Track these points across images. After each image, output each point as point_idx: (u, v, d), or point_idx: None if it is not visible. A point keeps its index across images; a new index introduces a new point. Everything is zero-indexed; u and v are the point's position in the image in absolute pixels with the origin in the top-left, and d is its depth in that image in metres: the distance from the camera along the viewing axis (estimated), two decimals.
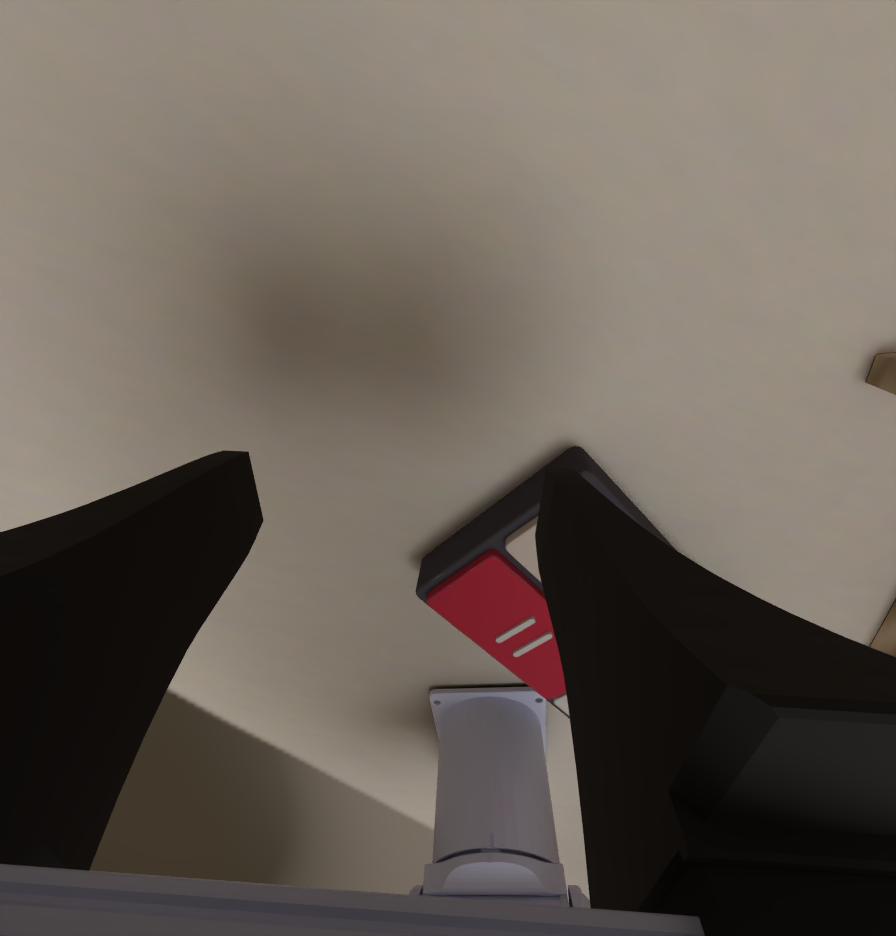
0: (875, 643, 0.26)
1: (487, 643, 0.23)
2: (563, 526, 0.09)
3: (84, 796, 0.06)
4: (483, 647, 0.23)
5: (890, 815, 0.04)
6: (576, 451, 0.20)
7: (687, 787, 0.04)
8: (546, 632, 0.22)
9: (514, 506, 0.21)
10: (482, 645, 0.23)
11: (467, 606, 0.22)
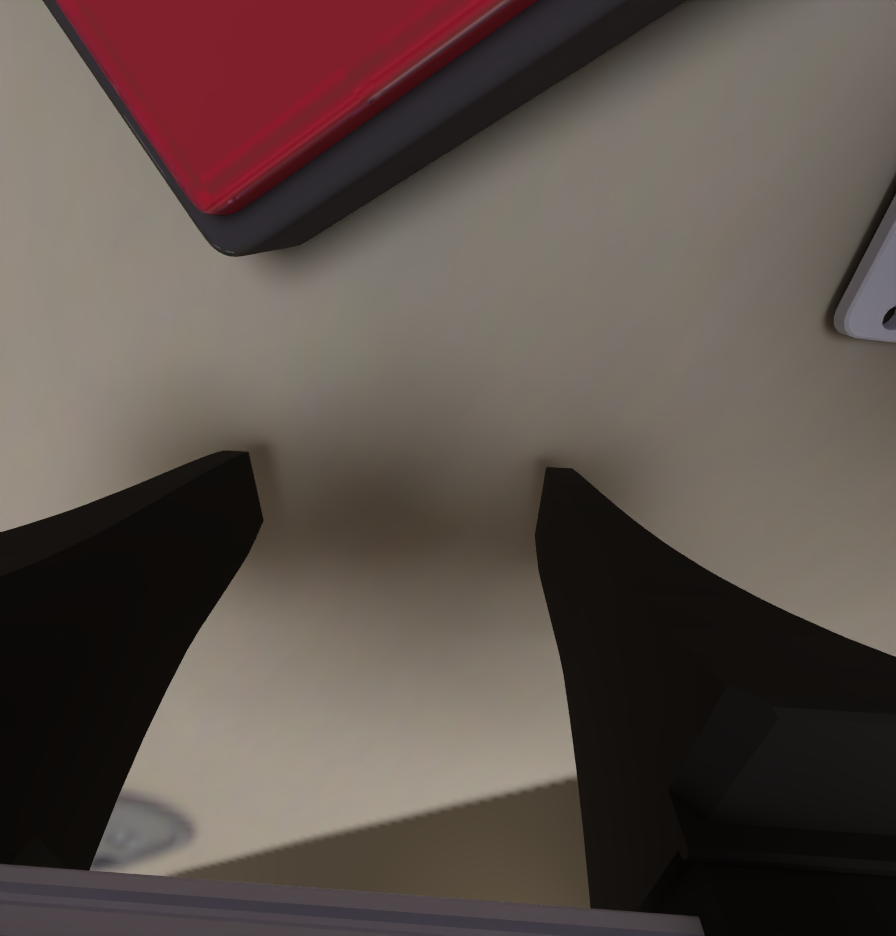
0: None
1: None
2: (562, 526, 0.09)
3: (84, 796, 0.06)
4: (459, 20, 0.05)
5: (890, 815, 0.04)
6: None
7: (687, 787, 0.04)
8: None
9: None
10: (444, 21, 0.05)
11: (209, 27, 0.05)
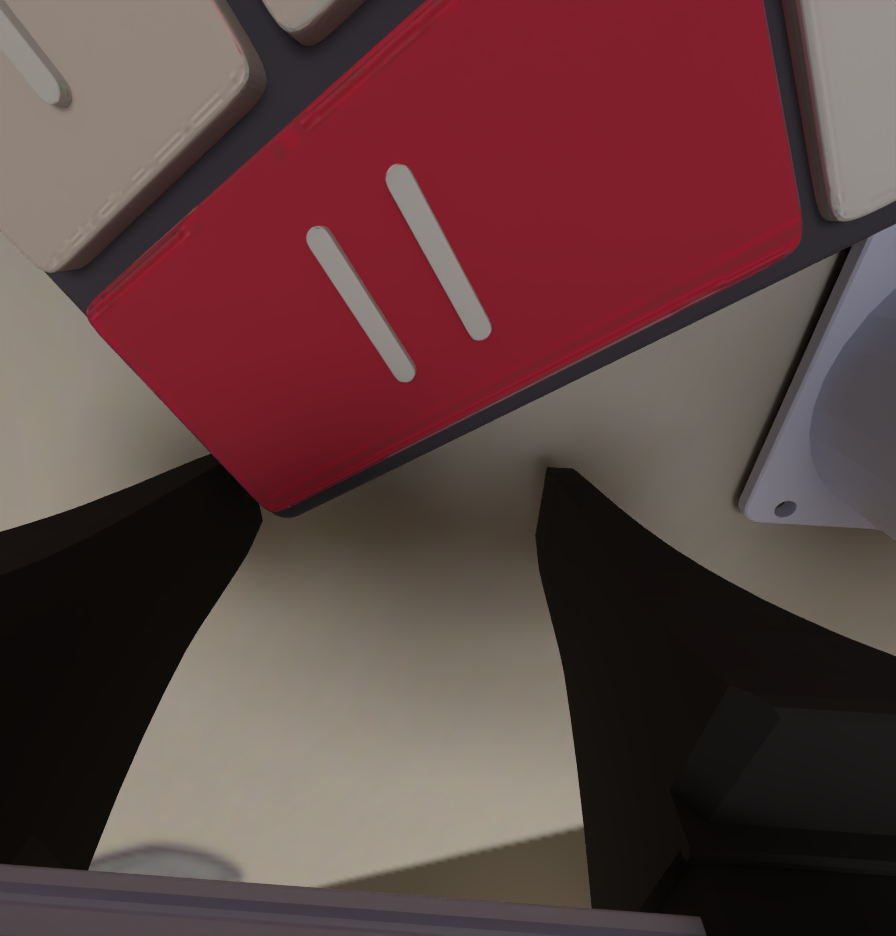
0: None
1: (427, 407, 0.07)
2: (563, 526, 0.09)
3: (83, 796, 0.06)
4: (443, 422, 0.08)
5: (891, 815, 0.04)
6: None
7: (688, 787, 0.04)
8: (396, 188, 0.06)
9: None
10: (434, 423, 0.08)
11: (276, 426, 0.08)
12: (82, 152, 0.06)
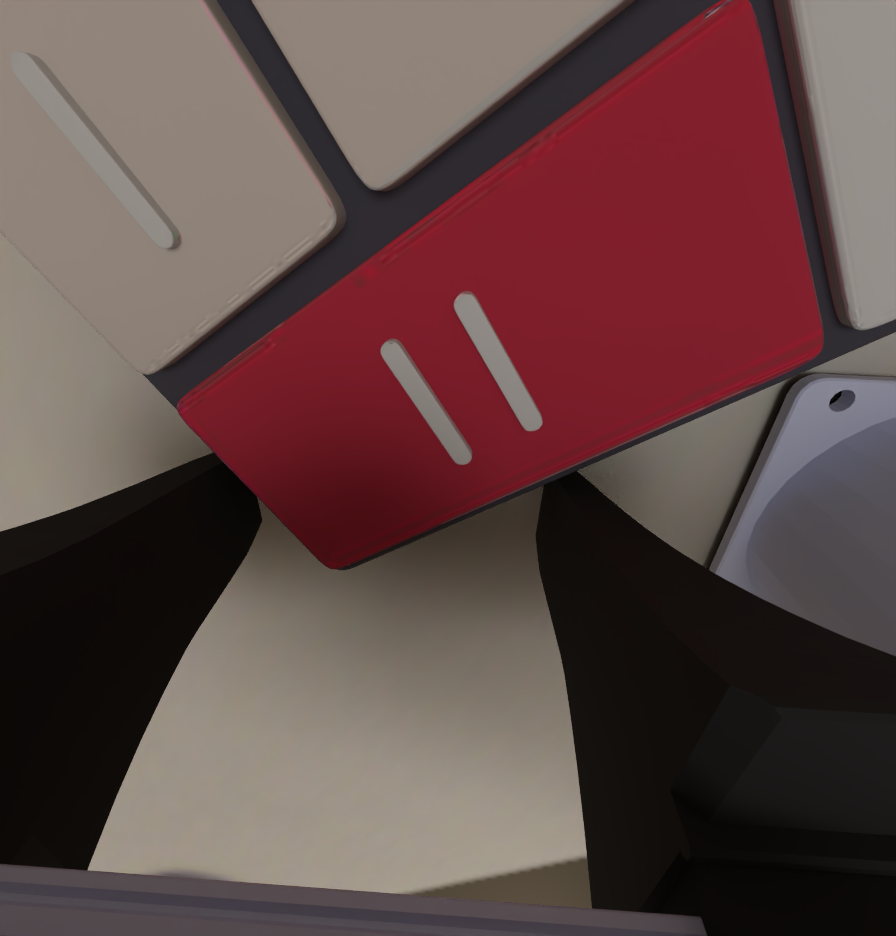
0: None
1: (480, 483, 0.08)
2: (563, 526, 0.09)
3: (82, 796, 0.06)
4: (495, 495, 0.08)
5: (892, 815, 0.04)
6: None
7: (689, 787, 0.04)
8: (461, 309, 0.07)
9: None
10: (486, 496, 0.08)
11: (341, 499, 0.09)
12: (186, 282, 0.07)
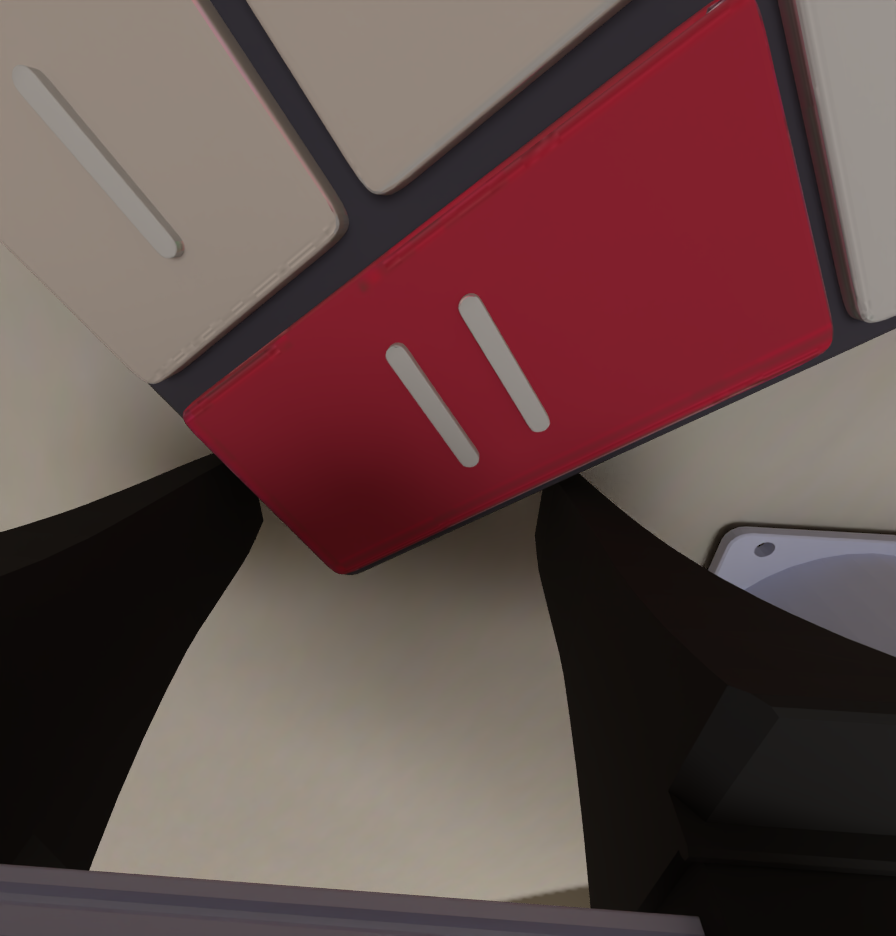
0: None
1: (488, 485, 0.08)
2: (562, 526, 0.09)
3: (84, 796, 0.06)
4: (502, 497, 0.08)
5: (890, 815, 0.04)
6: None
7: (687, 787, 0.04)
8: (465, 311, 0.07)
9: None
10: (494, 498, 0.08)
11: (349, 504, 0.09)
12: (189, 291, 0.07)
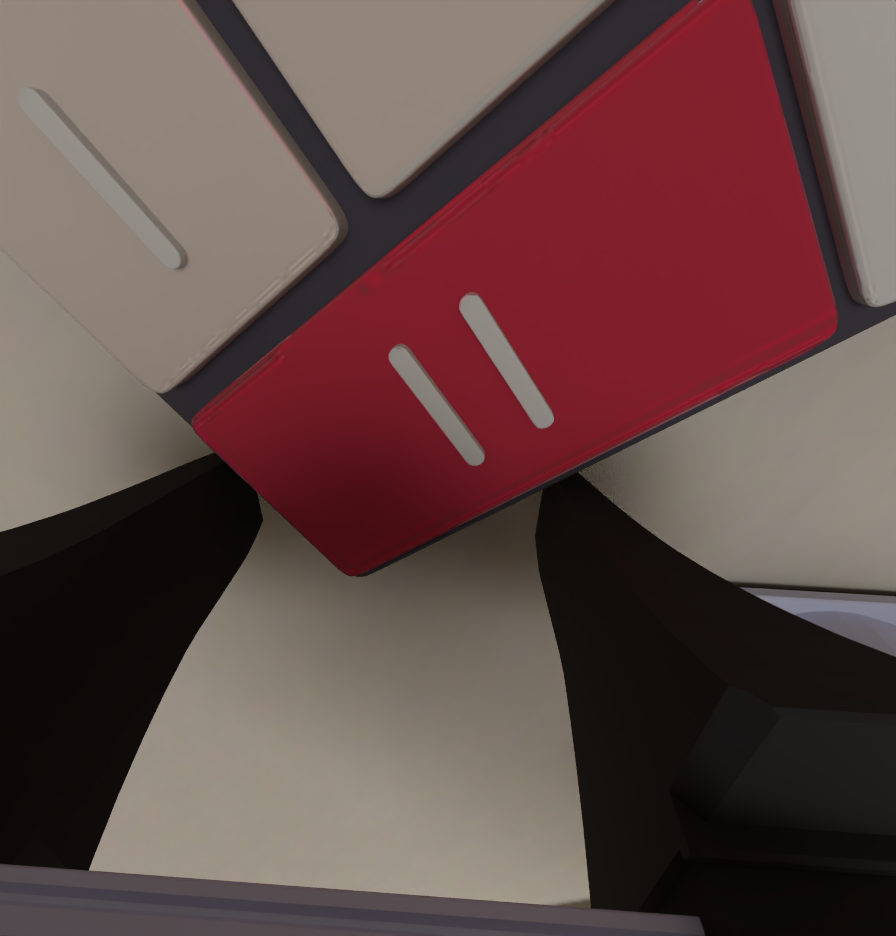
0: None
1: (494, 483, 0.08)
2: (562, 526, 0.09)
3: (83, 796, 0.06)
4: (509, 494, 0.08)
5: (891, 815, 0.04)
6: None
7: (687, 787, 0.04)
8: (466, 310, 0.07)
9: None
10: (500, 496, 0.08)
11: (357, 505, 0.09)
12: (194, 300, 0.07)
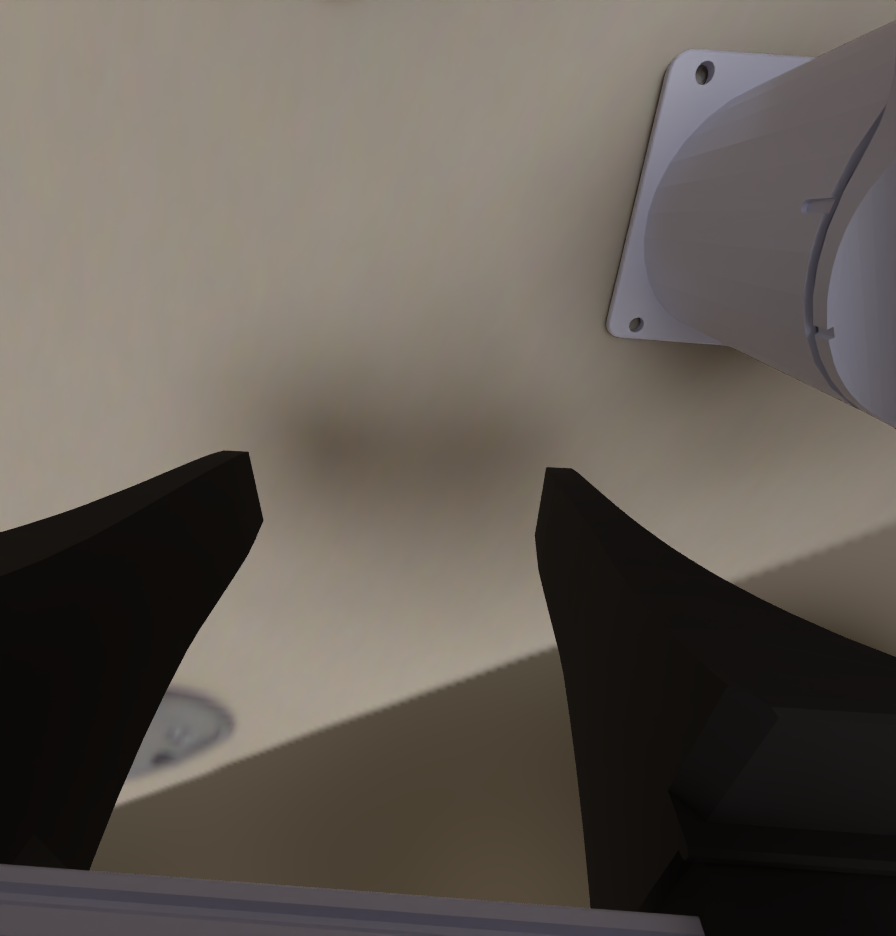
0: None
1: None
2: (562, 526, 0.09)
3: (84, 796, 0.06)
4: None
5: (890, 815, 0.04)
6: None
7: (687, 787, 0.04)
8: None
9: None
10: None
11: None
12: None
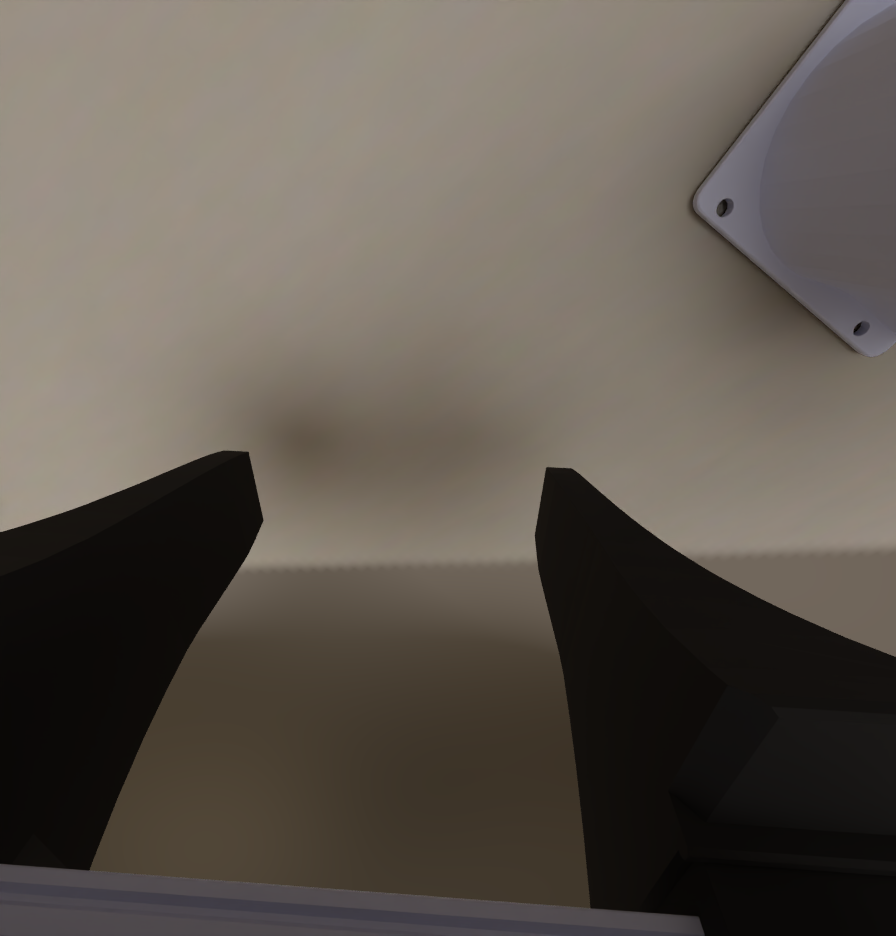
0: None
1: None
2: (562, 526, 0.09)
3: (84, 796, 0.06)
4: None
5: (890, 815, 0.04)
6: None
7: (687, 787, 0.04)
8: None
9: None
10: None
11: None
12: None
